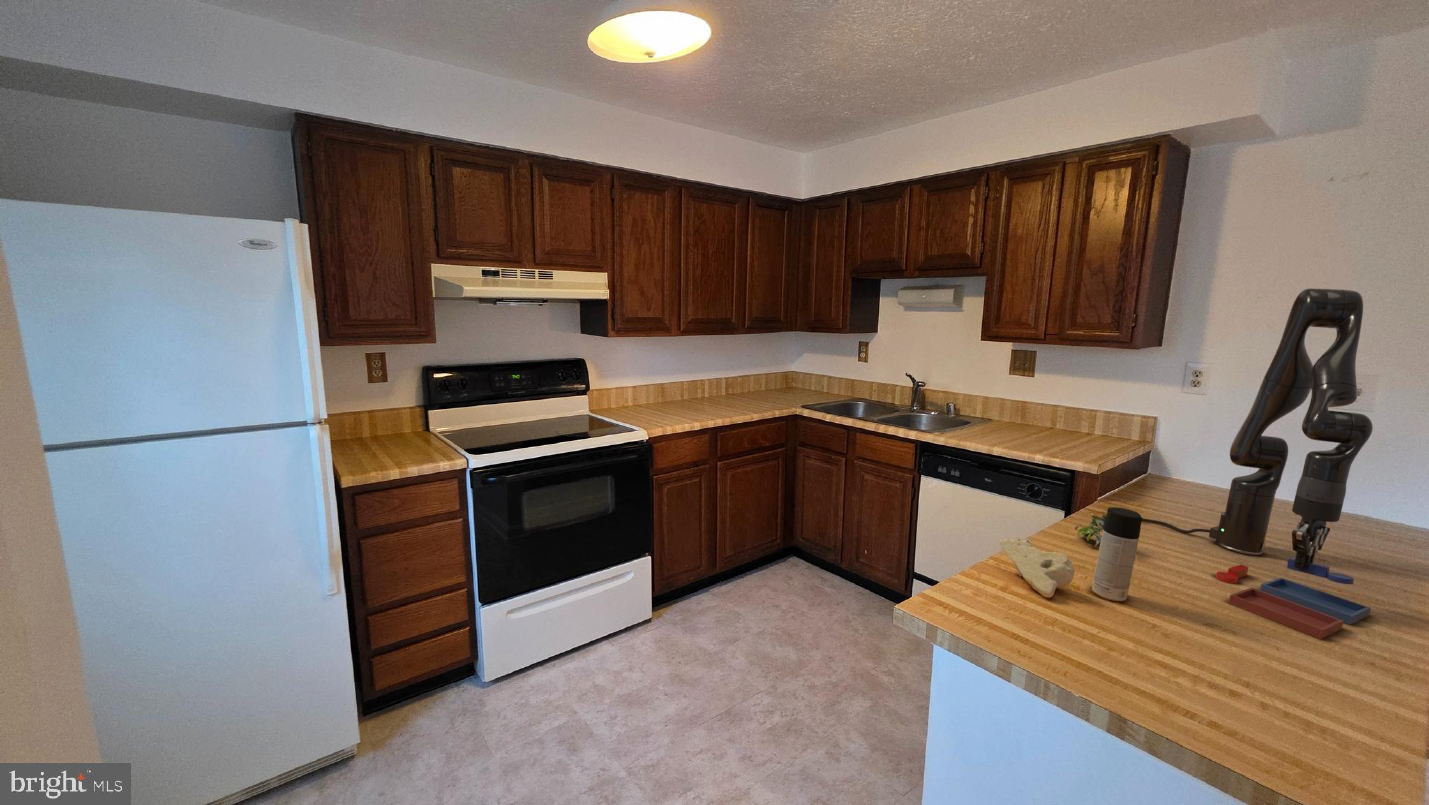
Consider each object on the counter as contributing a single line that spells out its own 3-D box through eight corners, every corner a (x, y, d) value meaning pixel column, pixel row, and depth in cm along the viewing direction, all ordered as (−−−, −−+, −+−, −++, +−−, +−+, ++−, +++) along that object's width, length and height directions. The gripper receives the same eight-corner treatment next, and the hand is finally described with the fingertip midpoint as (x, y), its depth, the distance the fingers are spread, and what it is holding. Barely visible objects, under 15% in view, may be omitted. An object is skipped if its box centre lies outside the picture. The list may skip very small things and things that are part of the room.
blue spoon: (1356, 582, 125) (1357, 572, 125) (1349, 585, 123) (1350, 575, 123) (1292, 566, 134) (1293, 556, 134) (1284, 569, 133) (1285, 559, 132)
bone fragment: (1080, 612, 124) (1078, 552, 133) (1072, 595, 120) (1070, 534, 129) (1005, 607, 133) (1007, 551, 142) (996, 591, 130) (999, 535, 139)
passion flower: (1110, 564, 158) (1147, 541, 151) (1087, 562, 154) (1124, 538, 147) (1084, 530, 166) (1118, 506, 159) (1061, 527, 162) (1095, 502, 154)
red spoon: (1232, 584, 137) (1234, 575, 137) (1212, 577, 141) (1214, 568, 141) (1252, 578, 142) (1254, 569, 142) (1233, 571, 146) (1235, 562, 145)
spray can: (1123, 592, 130) (1138, 510, 127) (1130, 605, 124) (1147, 519, 121) (1089, 585, 133) (1103, 504, 129) (1094, 597, 127) (1110, 513, 123)
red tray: (1228, 603, 128) (1230, 594, 127) (1249, 595, 132) (1251, 587, 132) (1321, 639, 114) (1323, 630, 114) (1341, 629, 119) (1343, 620, 119)
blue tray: (1259, 591, 134) (1261, 584, 134) (1278, 584, 139) (1280, 577, 139) (1350, 625, 121) (1352, 616, 121) (1368, 616, 125) (1371, 607, 125)
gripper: (1309, 489, 135) (1293, 557, 138) (1284, 494, 129) (1267, 565, 132) (1354, 499, 128) (1336, 570, 131) (1330, 505, 122) (1311, 580, 125)
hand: (1302, 568), depth 131 cm, fingers closed on blue spoon, 1 cm apart
